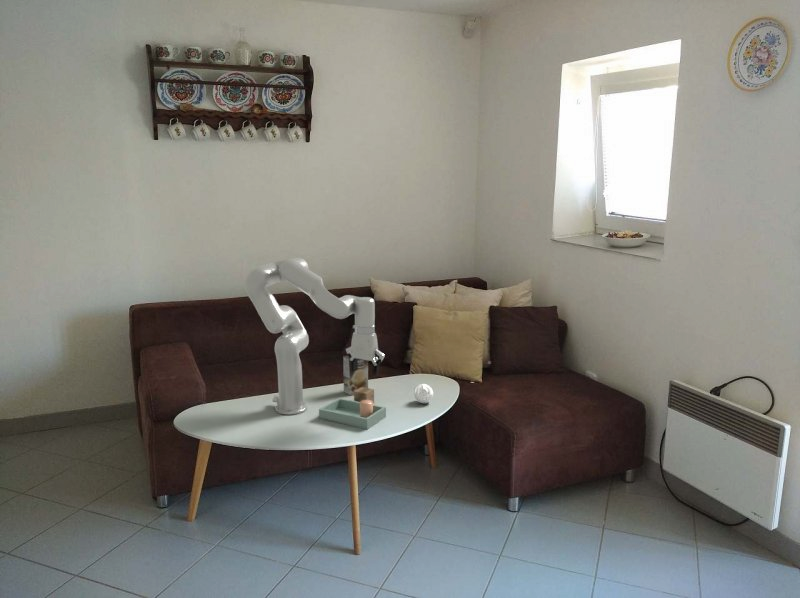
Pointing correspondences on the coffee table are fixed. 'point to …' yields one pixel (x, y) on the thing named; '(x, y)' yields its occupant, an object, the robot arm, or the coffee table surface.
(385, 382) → the coffee table surface
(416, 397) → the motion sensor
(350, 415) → the tote
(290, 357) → the robot arm
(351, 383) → the coffee box
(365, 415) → the terracotta cylinder
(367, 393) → the walnut block
